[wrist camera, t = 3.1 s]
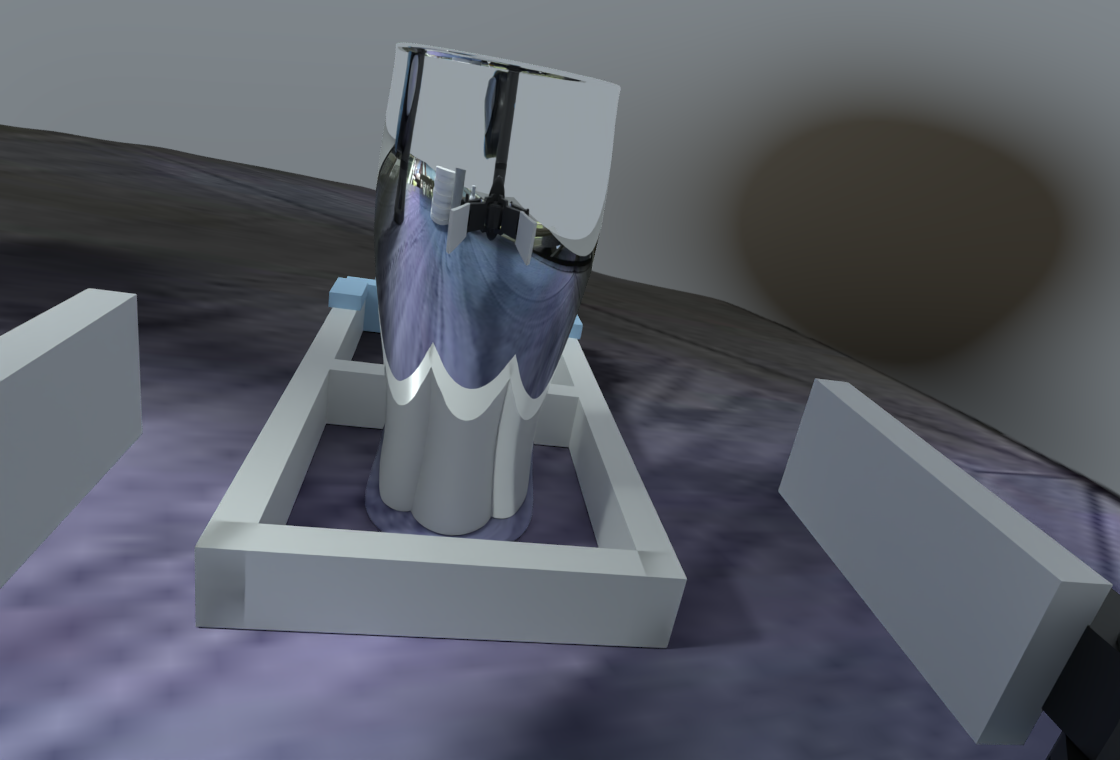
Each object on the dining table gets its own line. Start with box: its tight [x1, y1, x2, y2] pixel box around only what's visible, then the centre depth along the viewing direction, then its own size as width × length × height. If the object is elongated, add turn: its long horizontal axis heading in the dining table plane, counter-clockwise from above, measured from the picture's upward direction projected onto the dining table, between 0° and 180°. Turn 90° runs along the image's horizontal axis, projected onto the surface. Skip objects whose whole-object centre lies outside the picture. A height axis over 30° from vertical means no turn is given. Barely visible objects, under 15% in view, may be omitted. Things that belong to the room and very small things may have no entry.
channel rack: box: [195, 299, 687, 648], centre depth 31 cm, size 26×13×2 cm, turn 7°
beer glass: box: [365, 42, 621, 542], centre depth 23 cm, size 7×7×15 cm
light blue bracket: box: [329, 276, 583, 339], centre depth 40 cm, size 5×13×3 cm, turn 97°
